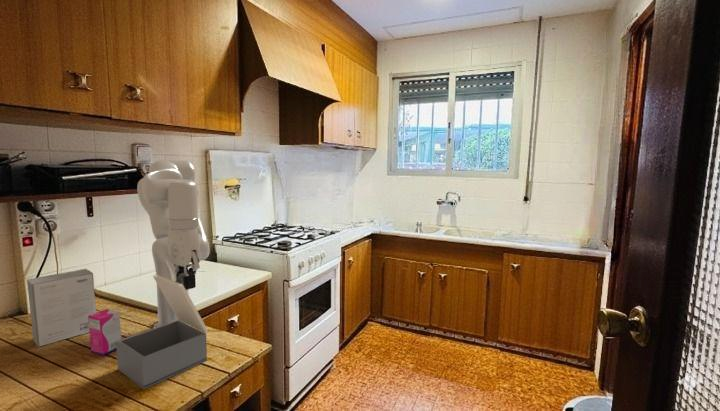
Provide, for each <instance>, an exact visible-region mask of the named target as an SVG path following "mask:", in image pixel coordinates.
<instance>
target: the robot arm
mask: <svg viewBox="0 0 720 411" xmlns="http://www.w3.org/2000/svg"><path fill="white" fill-rule="evenodd" d="M195 178H196V169H195V167H194V165H193V163H192V162H190V161H188V160H180V159H179V160H176V159H175V160H173V159H159V160H155V161H154V162H152V163H151V164H150V166H149V168H148V173H147V174H145V175H144V177H142V178H141V179H139V181H138V182H137V187H136V188H137V195H138V198H139V201H140V204H141V206H142V208H143V209H144V210H145V211H146V213H147V214H148V216H149V222H150V226H151V230H152V234H153V236H154V239H156V240H154V241H153V243H152V245H151V254H152V258H153V264H154V268H155V274H156V275H158V276H161V277H164V278H166V279H169V280H172V281H174V282H175V281H176V280H178V279H177V278H178V276H179V275H180V274H181V273H185V276H183V280H184V284H183V286H184V288H185V290H186V291H187V293H188V295H189V293H190V292H189V290H192V289H195V288H196V274H197V271H198V270H199V269H200V266H201V265H200V262H202V261H204V260H206V259H207V258H208V257H209V255H210V252H211V249H210V248H211V247H210V243H209V239H208V236H207V234H206V231H205V228H204V225H203V222H202V219H201V218H200V216H199V210H198V209H199V207H198V206H199V205H198V204H199V203H198V197H199V188H198V185H197V183H195ZM156 295H157V296H156V298H157V300H156V301H157V314H156V317H157V320H158V322H156V323H155V324H154V325H153V328H152V329H154V328H157V327H160V326H163V325H166V324H169V323H172V322H175V321H178V318H177V317H176V315H175V313H174V311H173V310H172V308H171V306H170V305H169V303H168V301H167V300H166V298H165V296H164V294H163V293H162V291H161V289H160V288H159V286H158V284H157V283H156ZM189 296H190V295H189ZM179 321H180V320H179ZM181 322H182V321H181ZM183 323H184V322H183ZM185 324H186V323H185ZM187 325H188V324H187ZM189 326H190V325H189ZM191 327H192V326H191Z"/></svg>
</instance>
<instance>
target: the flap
mask: <svg viewBox="0 0 720 411" xmlns="http://www.w3.org/2000/svg"><path fill="white" fill-rule="evenodd" d="M183 276H185V273H181V274H180V275H179V276H178V278H177V279H178V280H176V281H175V282H174V281H172V280H169V279H166V278H164V277H161V276H158V275H156V273H155V274H153V275H152V277H153V279H154V281H155V283H156V285H157V284H158V286H159V288H160V289H161V291H162V293H163V294H164V296H165V298H166V300H167V301H168V303H169V305H170V306H171V308H172V310H173V311H174V313H175V315H176V317H177V318H178V320H180V321H182V322H184V323H186V324H188V325H190V326H192V327H193V328H196V329H198V330H200V331H202V332H204V333H206V334H207V333H208V332H209V329H208V328H207V326H206V325H205V322H204V320H203V319H202V317H201V315H200V313H199V311H198V309H197V308H196V306H195V304H194V303H193V301H192V299H191V297H190V295H188V293H187V291H186V290H185V288H184V286H183V284H184V280H183Z"/></svg>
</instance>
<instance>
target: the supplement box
mask: <svg viewBox="0 0 720 411" xmlns="http://www.w3.org/2000/svg"><path fill="white" fill-rule="evenodd" d="M120 318H121V317H120V311H119V310H114V309H110V308H106V309H103V310H100V311H96V313H94V314H91V315H88V321H89V332H88V333H89V342H90V352H91V353H94V354H97V355H100V356H102V357H103V356H106V355H108V354H110V353H112V352H115V351H117V347H116V341H118V340H121V339H122V329H121V319H120Z"/></svg>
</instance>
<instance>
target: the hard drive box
mask: <svg viewBox="0 0 720 411" xmlns="http://www.w3.org/2000/svg"><path fill="white" fill-rule="evenodd" d="M26 282H27V292H28V303H29V311H30V320H31V321H30V322H31V328H32V332H31V333H32V340H33V342H34V344H35V345H36V346H37V348H38V347H39V348H40V347H43V346H46V345H50V344H54V343H58V342H59V341H64V340H66V339H70V338H74V337H78V336H82V335H84V334H88V333H90V332H89V321H88V315H91V314H94V313H97V309H96V308H97V307H96V306H97V305H96V294H95V280H94V273H93V272H92V271H90V270H89V269H87V268H82V269H77V270H72V271H65V272H60V273H59V272H58V273H54V274H50V275H44V276H39V277H38V276H37V277H34V278H28V279H26Z"/></svg>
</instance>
